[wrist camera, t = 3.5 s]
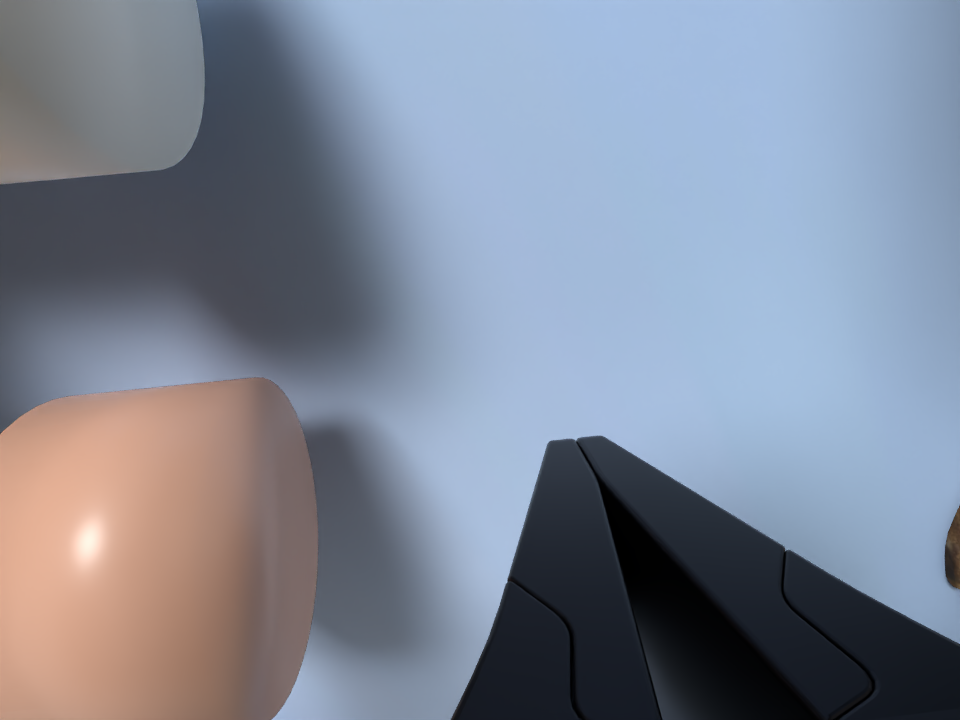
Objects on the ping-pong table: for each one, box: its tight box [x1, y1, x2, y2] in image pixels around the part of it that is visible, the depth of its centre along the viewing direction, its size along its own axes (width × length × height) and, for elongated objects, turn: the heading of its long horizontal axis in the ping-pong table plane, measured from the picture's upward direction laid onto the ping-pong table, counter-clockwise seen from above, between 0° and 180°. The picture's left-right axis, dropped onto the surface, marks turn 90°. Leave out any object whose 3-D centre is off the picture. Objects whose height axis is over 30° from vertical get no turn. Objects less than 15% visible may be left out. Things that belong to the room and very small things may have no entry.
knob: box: [0, 377, 318, 720], centre depth 8 cm, size 7×4×4 cm, turn 95°
